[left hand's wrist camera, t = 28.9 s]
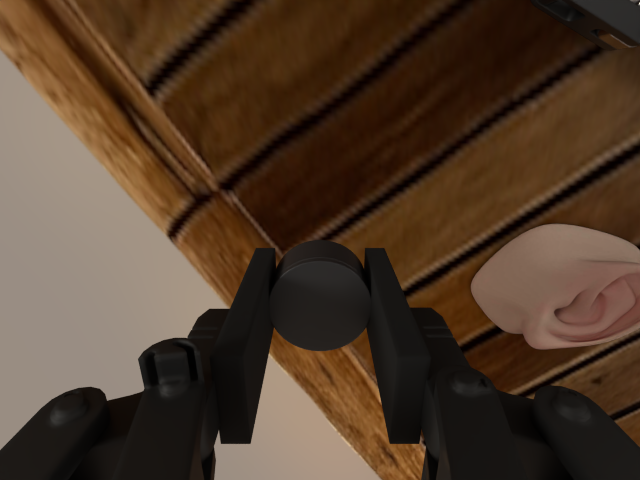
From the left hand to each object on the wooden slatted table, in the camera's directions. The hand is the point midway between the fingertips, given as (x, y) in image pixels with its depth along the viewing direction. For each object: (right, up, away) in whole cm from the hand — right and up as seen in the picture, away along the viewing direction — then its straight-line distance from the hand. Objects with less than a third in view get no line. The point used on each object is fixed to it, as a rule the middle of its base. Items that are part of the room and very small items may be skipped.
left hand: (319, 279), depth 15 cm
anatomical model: (+20, -2, +17) cm, 26 cm away
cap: (0, -1, -2) cm, 2 cm away
